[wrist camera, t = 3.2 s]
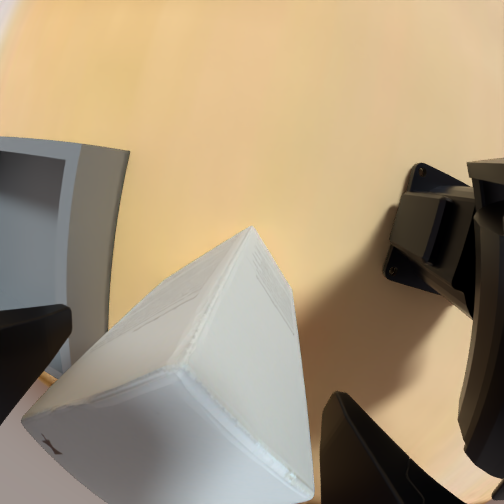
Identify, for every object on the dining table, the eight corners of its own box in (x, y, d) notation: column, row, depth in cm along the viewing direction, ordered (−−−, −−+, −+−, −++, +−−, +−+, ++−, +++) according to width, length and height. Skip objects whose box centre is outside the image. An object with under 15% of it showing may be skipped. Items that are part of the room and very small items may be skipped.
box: (130, 151, 14) (81, 143, 10) (108, 353, 18) (74, 389, 13) (3, 136, 15) (-38, 135, 10) (-4, 290, 18) (-37, 307, 14)
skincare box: (206, 337, 16) (122, 516, 5) (164, 278, 16) (11, 418, 4) (297, 289, 15) (322, 504, 4) (255, 221, 15) (168, 355, 3)
